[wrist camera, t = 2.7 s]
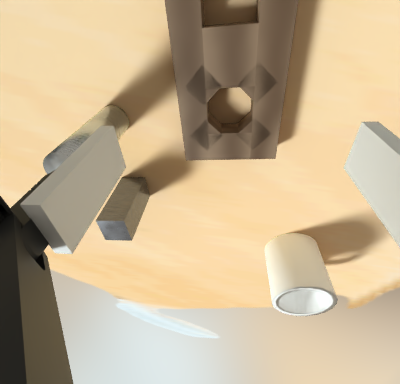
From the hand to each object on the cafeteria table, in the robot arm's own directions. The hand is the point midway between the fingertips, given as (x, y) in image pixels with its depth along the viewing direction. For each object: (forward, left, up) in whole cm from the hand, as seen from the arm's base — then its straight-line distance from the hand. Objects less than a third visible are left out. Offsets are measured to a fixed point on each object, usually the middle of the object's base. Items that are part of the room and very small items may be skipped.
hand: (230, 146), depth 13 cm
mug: (+13, -34, -19) cm, 41 cm away
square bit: (-16, -17, -19) cm, 30 cm away
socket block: (0, +2, -19) cm, 19 cm away
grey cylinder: (-16, -5, -19) cm, 25 cm away
